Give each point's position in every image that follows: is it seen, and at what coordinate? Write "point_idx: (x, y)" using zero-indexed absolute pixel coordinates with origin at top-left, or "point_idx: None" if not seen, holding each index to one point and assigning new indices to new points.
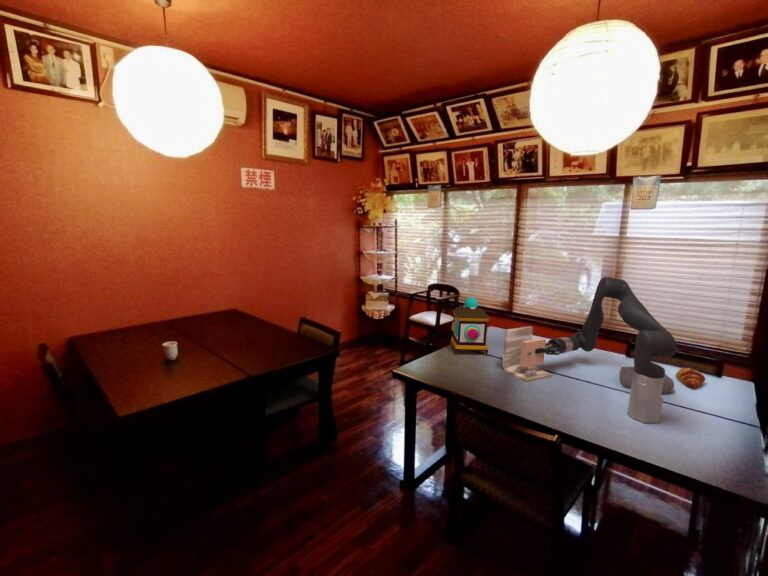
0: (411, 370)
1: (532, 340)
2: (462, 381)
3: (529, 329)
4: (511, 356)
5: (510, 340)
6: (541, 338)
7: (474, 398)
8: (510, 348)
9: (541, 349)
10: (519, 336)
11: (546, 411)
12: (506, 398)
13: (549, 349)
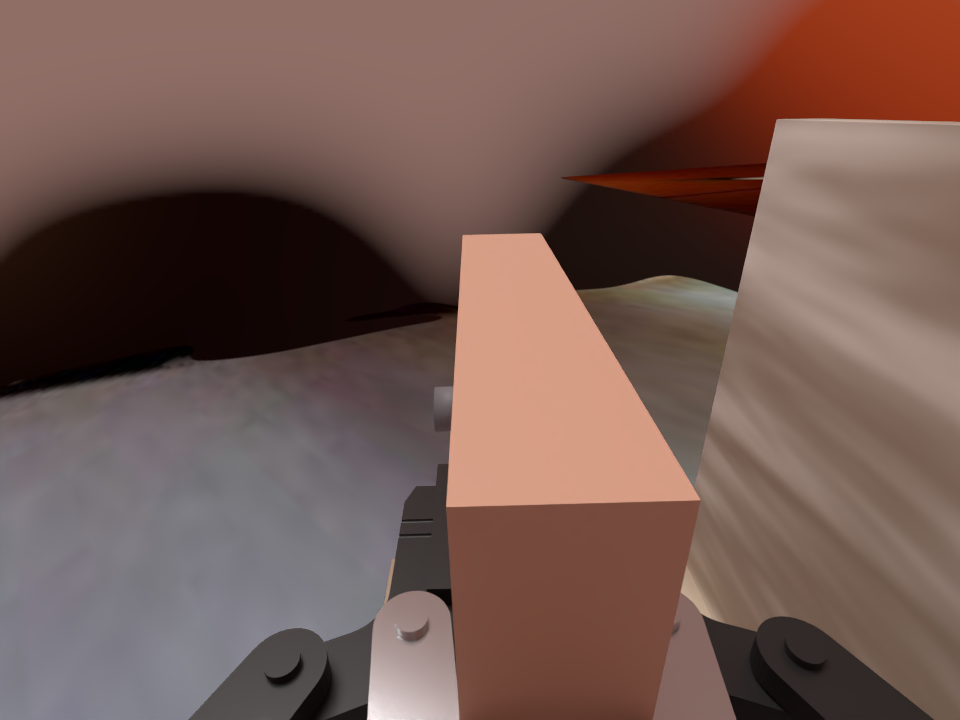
0: (684, 290)
1: (520, 283)
2: None
3: None
4: (742, 524)
5: (777, 299)
6: (619, 449)
7: (396, 329)
8: (754, 412)
9: (425, 574)
10: (930, 324)
11: (92, 441)
12: (318, 387)
13: (234, 694)
